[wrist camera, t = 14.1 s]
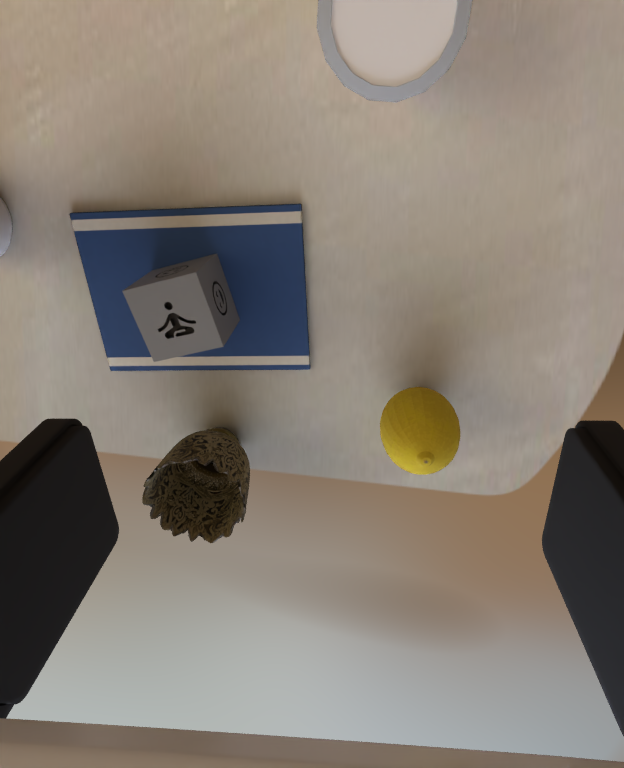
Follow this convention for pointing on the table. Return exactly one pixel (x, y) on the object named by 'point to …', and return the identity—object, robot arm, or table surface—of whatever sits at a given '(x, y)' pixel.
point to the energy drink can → (4, 227)
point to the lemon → (420, 430)
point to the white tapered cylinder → (391, 43)
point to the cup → (200, 485)
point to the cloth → (241, 269)
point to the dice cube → (183, 308)
